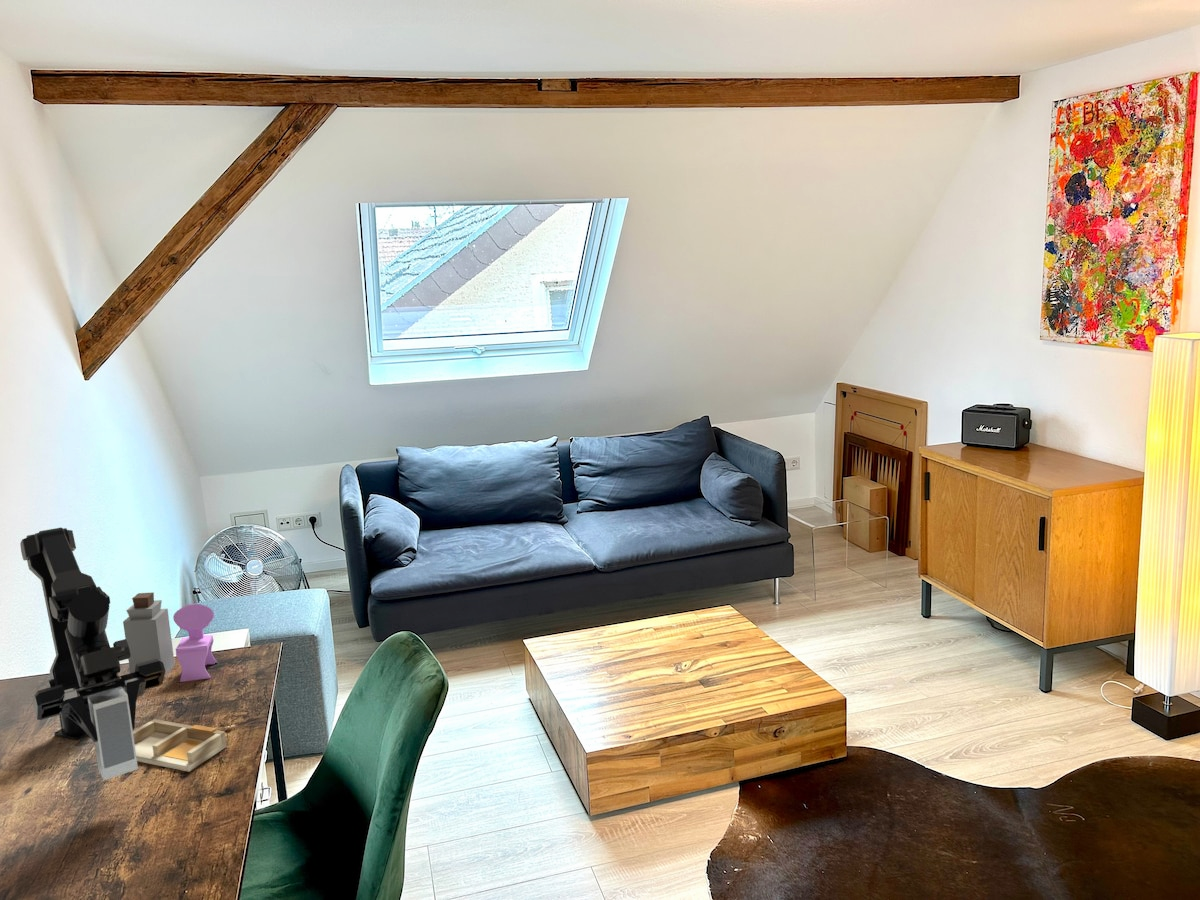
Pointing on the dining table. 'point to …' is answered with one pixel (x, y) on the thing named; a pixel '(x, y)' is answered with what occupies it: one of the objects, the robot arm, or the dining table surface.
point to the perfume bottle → (148, 632)
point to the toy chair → (194, 641)
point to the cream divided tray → (177, 744)
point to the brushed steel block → (113, 733)
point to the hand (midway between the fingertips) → (114, 735)
